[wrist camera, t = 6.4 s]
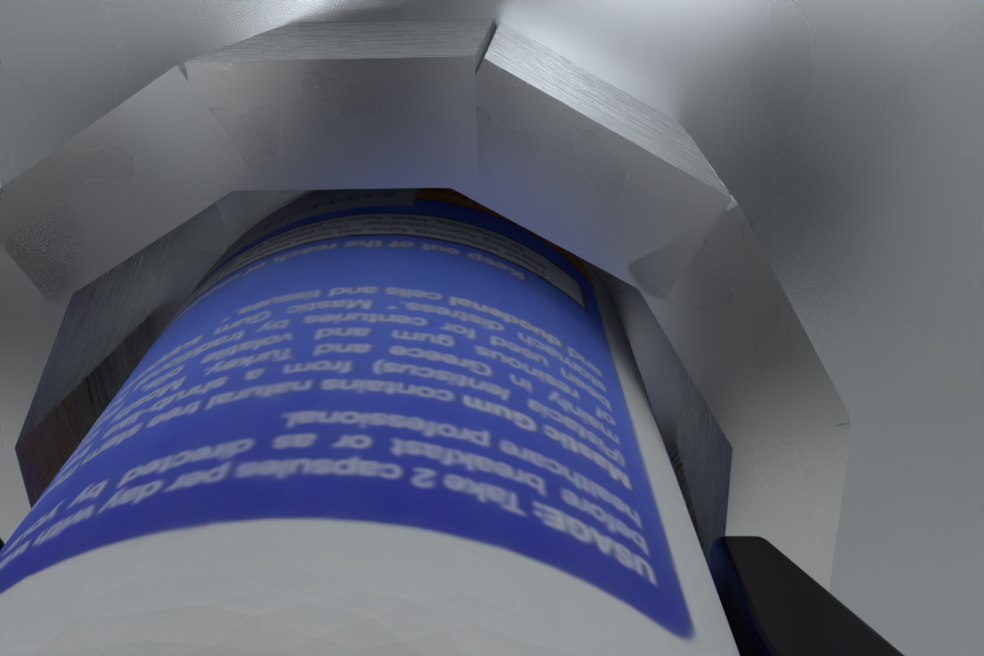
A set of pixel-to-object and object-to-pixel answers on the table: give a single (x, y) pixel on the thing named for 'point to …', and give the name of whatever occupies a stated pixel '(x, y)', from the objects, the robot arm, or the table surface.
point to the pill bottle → (372, 461)
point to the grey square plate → (560, 229)
